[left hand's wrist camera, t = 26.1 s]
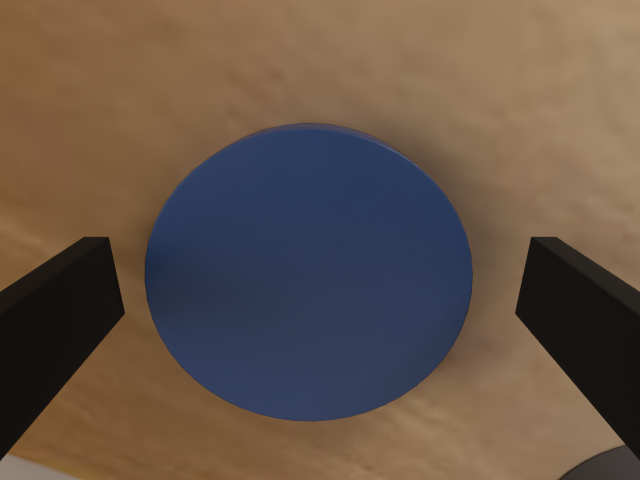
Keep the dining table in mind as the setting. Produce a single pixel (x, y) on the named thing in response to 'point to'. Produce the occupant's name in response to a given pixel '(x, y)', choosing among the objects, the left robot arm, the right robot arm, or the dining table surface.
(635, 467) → the jar
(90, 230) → the dining table surface
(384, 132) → the dining table surface
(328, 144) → the lid
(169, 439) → the dining table surface
